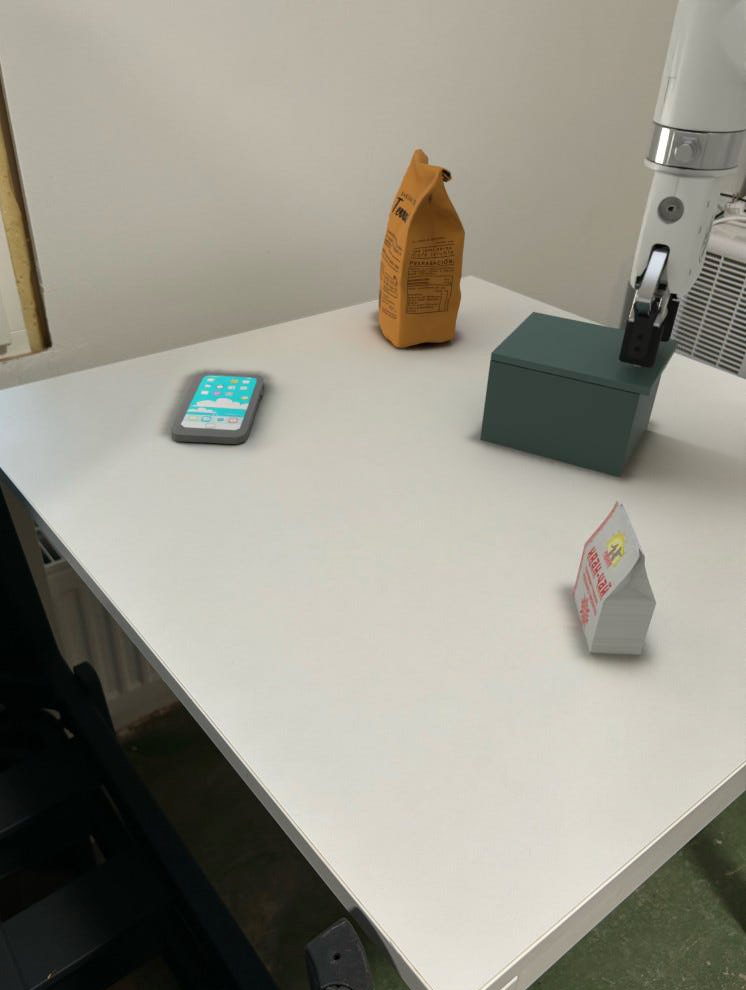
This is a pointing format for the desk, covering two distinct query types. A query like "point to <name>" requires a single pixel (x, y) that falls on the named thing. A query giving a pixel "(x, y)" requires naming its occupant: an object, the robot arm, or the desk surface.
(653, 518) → the desk surface
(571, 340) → the green box lid
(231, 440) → the smartphone
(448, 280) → the coffee package
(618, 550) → the white paper food bag
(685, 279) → the robot arm
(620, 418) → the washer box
